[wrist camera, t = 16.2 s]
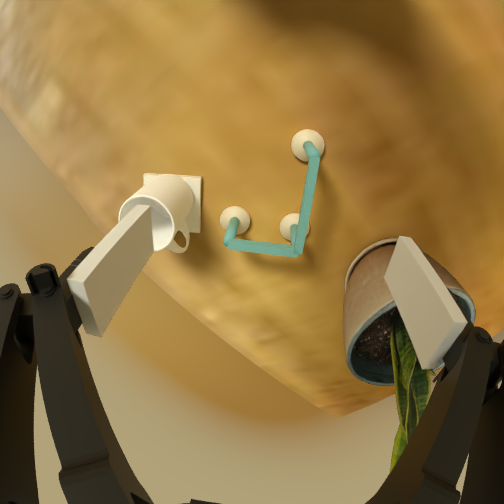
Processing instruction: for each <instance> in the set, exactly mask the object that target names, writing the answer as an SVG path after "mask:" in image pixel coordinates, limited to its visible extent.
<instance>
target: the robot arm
mask: <svg viewBox="0 0 504 504" xmlns="http://www.w3.org/2000/svg"><path fill="white" fill-rule="evenodd" d="M153 252H154V245H153V233H152V220H151V205H138V204H137V205H136V206H135V207H134V208H133V209H132V210H131V211H130V212H129V213H128V214H127V215H126V216H125V217H124V218H123V219H122V220H121V221H120V222H119V223H118V224H117V225H116V226H115V227H114V228H113V229H112V230H111V231H110V232H109V233H108V234H107V235H106V236H105V238H103V239H102V240H101V242H100V243H99V244H98V245H97V246H96V247H90V248H88V249H87V250H85V251H83V252H82V253H81V254H80V255H79V256H78V257H77V258H76V260H74V261H73V262H72V263H71V265H70V266H69V267H68V268H67V269H66V270H65V271H64V272H63V273H62V275H61V276H60V277H59V278H58V275H57V271H56V268H55V266H54V265H52V264H47V263H45V264H40V265H37V266H35V267H34V268H32V269H31V270H30V271H29V272H28V273H27V275H26V281H27V284H28V286H29V289H30V291H31V293H24V294H22V293H21V291H20V289H19V287H18V285H16V284H6V285H4V286H2V287H1V288H0V504H39V499H38V488H37V480H36V470H35V458H34V430H33V429H34V395H35V381H36V371H37V365H38V371H39V377H40V384H41V389H42V395H43V400H44V404H45V409H46V413H47V417H48V422H49V425H50V429H51V432H52V436H53V439H54V443H55V447H56V450H57V453H58V456H59V459H60V462H61V466H62V470H61V471H60V472H59V481H60V484H61V487H62V490H63V492H64V495H65V497H66V500H67V502H68V504H154V503H153V502H152V500H151V498H150V497H149V496H148V494H147V492H146V491H145V489H144V488H143V487H142V485H141V484H140V483H139V481H138V480H137V478H136V476H135V475H134V473H133V471H132V469H131V467H130V466H129V463H128V462H127V459H126V457H125V455H124V453H123V451H122V449H121V447H120V445H119V443H118V441H117V438H116V436H115V434H114V432H113V430H112V427H111V425H110V423H109V420H108V418H107V415H106V413H105V411H104V408H103V405H102V403H101V400H100V397H99V394H98V392H97V389H96V386H95V383H94V380H93V377H92V374H91V372H90V368H89V365H88V362H87V358H86V355H85V351H84V348H83V344H82V340H81V337H80V334H79V331H78V329H79V327H80V326H81V324H83V327H84V329H85V331H86V333H87V334H91V335H94V336H98V337H102V335H103V333H104V332H105V330H106V328H107V326H108V325H109V323H110V321H111V320H112V317H113V316H114V314H115V313H116V311H117V309H118V308H119V306H120V304H121V303H122V301H123V299H124V298H125V296H126V294H127V293H128V291H129V289H130V288H131V286H132V285H133V283H134V281H135V280H136V278H137V276H138V275H139V273H140V272H141V270H142V269H143V267H144V266H145V264H146V263H147V261H148V260H149V258H150V257H151V255H152V254H153ZM384 279H385V281H386V283H387V285H388V288H389V290H390V292H391V294H392V296H393V299H394V301H395V303H396V305H397V308H398V310H399V312H400V315H401V317H402V319H403V322H404V324H405V326H406V329H407V331H408V334H409V336H410V339H411V341H412V344H413V346H414V349H415V352H416V354H417V357H418V360H419V362H420V365H421V368H422V369H434V368H436V367H437V366H438V364H439V363H440V362H441V360H442V359H443V361H444V364H445V366H444V367H443V369H442V370H441V371H440V372H439V374H438V375H437V376H436V377H435V379H434V380H433V382H435V381H436V380H437V382H436V385H435V387H434V390H433V392H432V394H431V397H430V399H429V401H428V403H427V406H426V408H425V410H424V412H423V414H422V416H421V418H420V421H419V423H418V425H417V427H416V429H415V430H414V432H413V434H412V436H411V438H410V440H409V442H408V444H407V445H406V447H405V449H404V451H403V452H402V454H401V456H400V458H399V459H398V461H397V463H396V464H395V466H394V468H393V469H392V471H391V472H390V474H389V475H388V477H387V479H386V480H385V482H384V483H383V484H382V486H381V487H380V489H379V490H378V492H377V493H376V494H375V495H374V496H373V497H372V498H371V499H370V500H369V501H367V502H366V503H365V504H458V503H459V500H460V504H504V340H503V341H502V343H501V344H500V343H496V342H493V340H492V338H491V336H490V334H489V333H488V332H487V331H486V330H484V329H483V328H481V327H476V326H475V327H474V325H473V324H472V322H471V320H470V318H469V317H468V315H467V314H466V312H465V310H464V309H463V308H462V305H461V304H460V302H459V301H458V299H457V297H456V296H455V294H454V293H453V292H452V291H451V290H450V289H449V288H447V287H446V286H445V285H444V283H443V282H442V280H441V279H440V277H439V276H438V274H437V273H436V272H435V270H434V269H433V267H432V266H431V264H430V263H429V262H428V260H427V259H426V257H425V256H424V255H423V253H422V252H421V251H420V249H419V248H418V246H417V245H416V244H415V242H414V241H413V240H412V239H411V238H410V237H404V236H399V238H398V241H397V244H396V246H395V249H394V252H393V255H392V257H391V260H390V263H389V266H388V268H387V271H386V273H385V276H384ZM501 380H502V383H501V386H500V388H499V389H498V383H499V382H500V381H501ZM468 453H469V457H468V465H467V471H466V476H465V481H464V486H463V491H462V495H460V492H459V491H458V490H456V484H457V482H458V479H459V477H460V474H461V472H462V469H463V467H464V464H465V462H466V459H467V456H468ZM460 497H461V499H460ZM183 504H219V503H212V502H206V501H199V500H193V499H191V501H190V503H183Z"/></svg>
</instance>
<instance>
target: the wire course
mask: <svg viewBox="0 0 504 504" xmlns="http://www.w3.org/2000/svg"><path fill="white" fill-rule="evenodd" d="M291 147H292V151H293V153H294V155H295V156H296V157H297V158H298V159H300V160H302V161H306V162H308V168H307V174H306V180H305V186H304V192H303V198H302V204H301V210H300V213H289V214H287V215H285V216H284V217H283V218H282V220H281V222H280V232H281V234H282V236H283V237H284V238H285V239H287V240H289V241H291V245H284V244H276V243H268V242H259V241H250V240H242V239H235V238H236V234H241V233H244V232H245V231H246V230H247V229H248V227H249V225H250V215H249V213H248V212H247V210H246V209H244V208H243V207H240V206H235V205H234V206H229V207H227V208H226V209H225V210H224V211H223V212H222V214H221V217H220V223H221V226H222V228H223V229H224V230H225V231H226V234H225V238H224V241H223V243H224V245H225V246H226V247H228V250H237V251H245V252H254V253H263V254H271V255H280V256H288V257H297V256H298V255H300V254H302V252H303V247H304V242H305V237H306V236H307V235H308V233H309V229H310V226H309V217H310V212H311V207H312V201H313V196H314V190H315V185H316V179H317V174H318V168H319V162H320V156H321V155H322V154H323V151H324V147H325V146H324V140H323V138H322V137H321V136H320V134H318V133H317V132H316V131H314V130H310V129H304V130H301V131H299V132H297V133H296V134H295V135H294V137H293V139H292V142H291Z"/></svg>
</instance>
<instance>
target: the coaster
mask: <svg viewBox="0 0 504 504" xmlns="http://www.w3.org/2000/svg"><path fill="white" fill-rule="evenodd" d="M159 175H162V174H153V173H145V174H144V175H143V176H144V185H145V184H147V183H148V182H149V181H150V180H152V179H153V178H155V177H156V176H159ZM176 176H178V177H180V178H182V179H183V180H184V181H185V182H186V183H187V184H188V185H189V187H190V189H191V191H192V195H193V205H192V208H191V211H190V213H189V214H188V216H187V217H186V219H185V221H186V224H187V226H188V230H189V232H193V233H200V231H201V184H202V176H188V175H176ZM178 231H180V230H178Z"/></svg>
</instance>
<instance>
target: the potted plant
mask: <svg viewBox="0 0 504 504" xmlns="http://www.w3.org/2000/svg"><path fill="white" fill-rule="evenodd" d="M397 241H398V238H395V237H394V238H388V239H383V240H379V241H377V242H375V243H373V244H371V245H369V246H368V247H366V248H365V249H364V250H362V251H361V252H360V253H359V254H358V256H357V257H356V258H355V259H354V260H353V262H352V263H351V265H350V267H349V269H348V271H347V274H346V277H345V297H344V307H343V335H344V345H345V353H346V360H347V365H348V368H349V370H350V371H351V372H352V374H353V375H354V376H355V377H356V378H358V379H360V380H361V381H364V382H366V383H368V384H373V385H379V386H392V385H395V394H396V403H397V410H398V415H399V419H400V425H399V428H398V431H397V434H396V437H395V441H394V447H393V452H392V459H391V469H390V472H391V471H392V469H393V468H394V466H395V464H396V463H397V461H398V459H399V458H400V456H401V454H402V452H403V451H404V449H405V447H406V445H407V444H408V442H409V440H410V438H411V436H412V434H413V432H414V430H415V429H416V427H417V425H418V423H419V421H420V418H421V416H422V414H423V412H424V410H425V408H426V406H427V403H428V401H429V399H430V392H431V391H430V389H431V383H430V374H432V375H433V376H435V373H434V371H436V370H438V369H439V368H441V367H442V366H443V365H444V361H443V359H442V360H441V362H440V363H439V364H438V366H437V367H436V368H434V369H422V368H421V365H420V362H419V360H418V357H417V354H416V352H415V349H414V346H413V344H412V341H411V339H410V336H409V334H408V331H407V329H406V326H405V324H404V322H403V319H402V317H401V315H400V312H399V310H398V308H397V305H396V303H395V301H394V299H393V296H392V294H391V292H390V290H389V288H388V285H387V283H386V281H385V279H384V276H385V273H386V271H387V268H388V266H389V263H390V260H391V257H392V255H393V252H394V249H395V246H396V244H397ZM417 246H418V245H417ZM418 248H419V249H420V251H421V252H422V253H423V255H424V256H425V257H426V259H427V260H428V262H429V263H430V264H431V266H432V267H433V269H434V270H435V272H436V273H437V274H438V276H439V277H440V279H441V280H442V282H443V283H444V285H445V286H446V287H447V288H449V289H450V290H451V291H452V292H453V293H454V294H455V296H456V297H457V299H458V301H459V302H460V304H461V305H462V308H463V309H464V310H465V312H466V314H467V315H468V317H469V318H470V320H471V322H472V324H473V325H474V321H475V316H476V310H475V306H474V303H473V301H472V299H471V297H470V296H469V294H468V293H467V292H466V291H465V290H464V288H463V287H462V286H461V285H460V284H459V282H458V281H457V280H456V279H455V278H454V277H453V276H452V275H451V274H450V273H449V272H448V271H447V270H446V269H445V268H444V267H443V266H441V265H440V264H439V263H438V262H437V261H435V260H434V259H433V258H431V257H430V256H429V255H427V254H426V253H424V252H423V251H422V250H421V248H420V247H419V246H418Z"/></svg>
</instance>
